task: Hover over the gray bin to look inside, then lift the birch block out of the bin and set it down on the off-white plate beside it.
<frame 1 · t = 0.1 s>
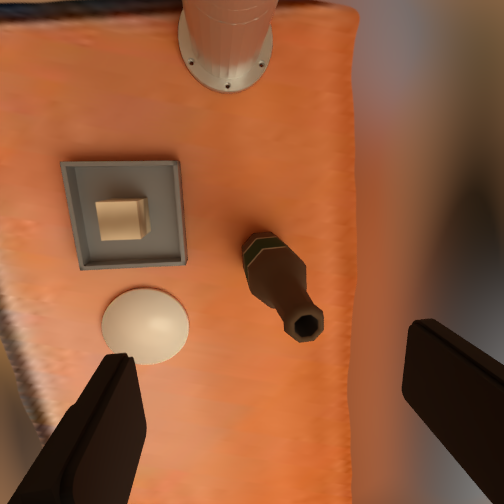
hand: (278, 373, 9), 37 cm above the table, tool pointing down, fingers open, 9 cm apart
birch block: (132, 214, 42), point 1 cm above the table, touching gray bin
off-white plate: (147, 325, 48), on the table
beer bottle 2: (262, 252, 47), on the table
gray bin: (133, 214, 43), on the table
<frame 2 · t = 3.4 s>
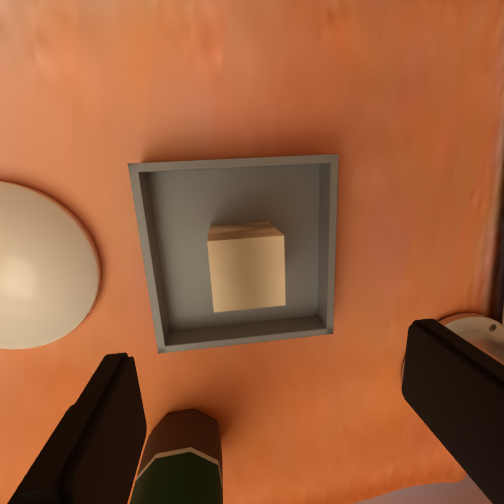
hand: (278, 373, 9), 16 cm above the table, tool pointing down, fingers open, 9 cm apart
birch block: (241, 251, 24), point 1 cm above the table, touching gray bin
off-white plate: (11, 267, 23), on the table
beer bottle 2: (186, 434, 30), on the table
gray bin: (240, 249, 25), on the table
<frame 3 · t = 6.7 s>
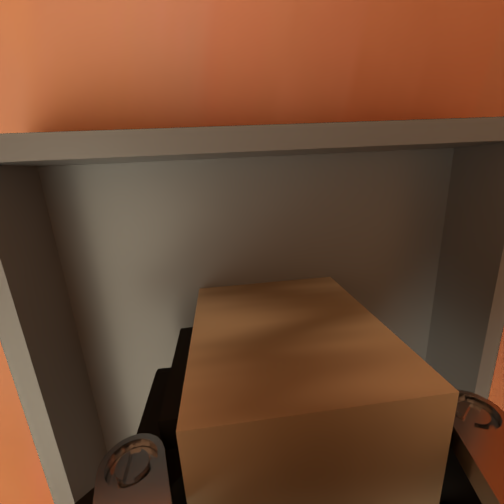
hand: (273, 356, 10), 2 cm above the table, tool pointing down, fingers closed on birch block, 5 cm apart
birch block: (268, 340, 11), point 1 cm above the table, touching gray bin, gripper
gray bin: (266, 332, 12), on the table
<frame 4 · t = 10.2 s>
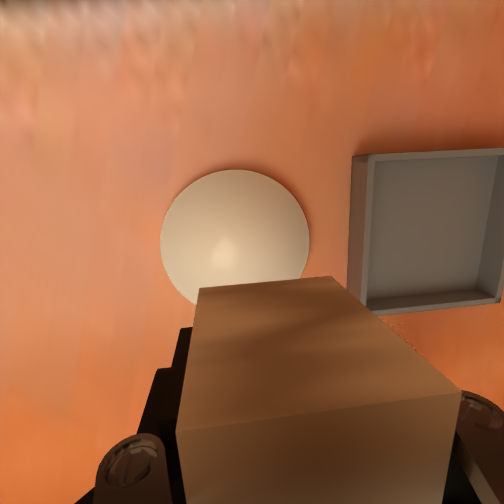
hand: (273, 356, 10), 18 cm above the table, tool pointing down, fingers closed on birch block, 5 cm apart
birch block: (268, 340, 11), point 17 cm above the table, touching gripper
off-white plate: (236, 244, 27), on the table
gray bin: (419, 230, 29), on the table
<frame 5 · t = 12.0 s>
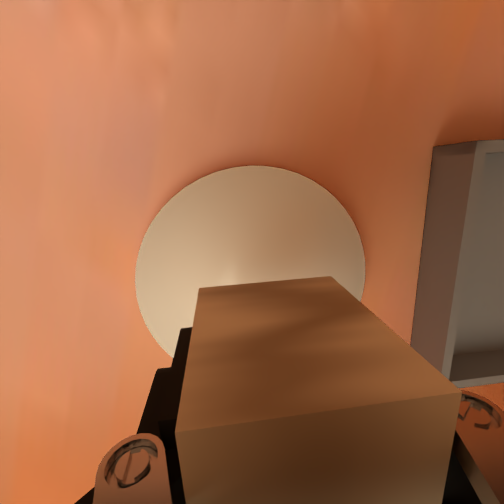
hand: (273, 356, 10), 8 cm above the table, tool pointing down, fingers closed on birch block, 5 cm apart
birch block: (268, 340, 11), point 7 cm above the table, touching gripper
off-white plate: (253, 280, 18), on the table
when the fingers open (3 cm above the table, at t = 13.7 s): birch block drops 1 cm, resting on off-white plate.
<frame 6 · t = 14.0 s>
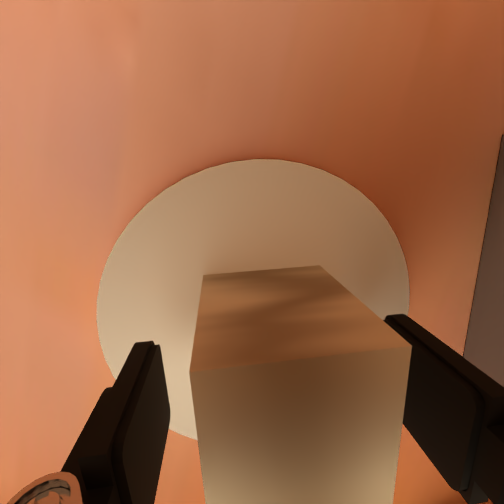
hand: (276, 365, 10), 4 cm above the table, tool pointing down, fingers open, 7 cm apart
birch block: (264, 322, 13), point 1 cm above the table, touching off-white plate
off-white plate: (259, 312, 13), on the table
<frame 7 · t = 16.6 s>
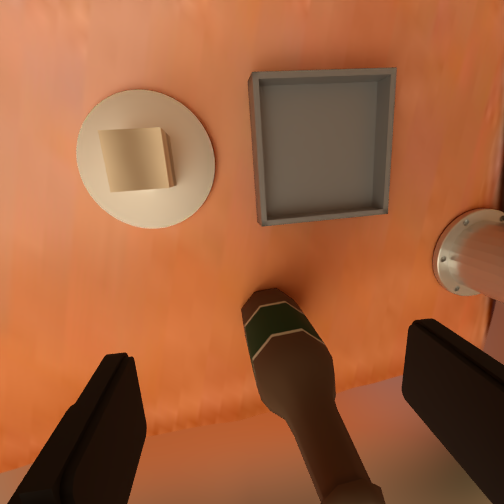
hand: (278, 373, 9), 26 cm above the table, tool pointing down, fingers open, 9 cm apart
birch block: (149, 163, 30), point 1 cm above the table, touching off-white plate
off-white plate: (150, 163, 31), on the table
beer bottle 2: (267, 311, 38), on the table
gray bin: (316, 152, 33), on the table
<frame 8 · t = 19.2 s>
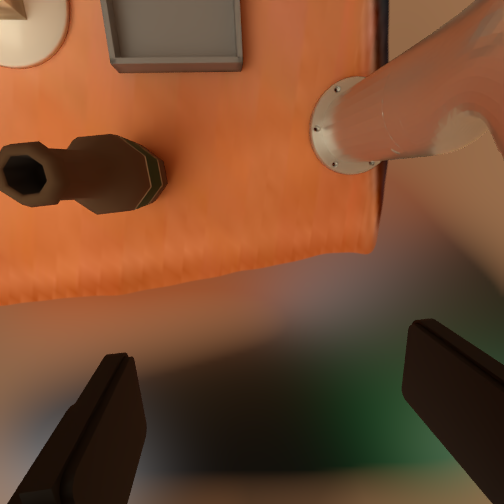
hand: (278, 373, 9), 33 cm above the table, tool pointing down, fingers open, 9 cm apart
beer bottle 2: (140, 175, 38), on the table
gray bin: (174, 0, 34), on the table
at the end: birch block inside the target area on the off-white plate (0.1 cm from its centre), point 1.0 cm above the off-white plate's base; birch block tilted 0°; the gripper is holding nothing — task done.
